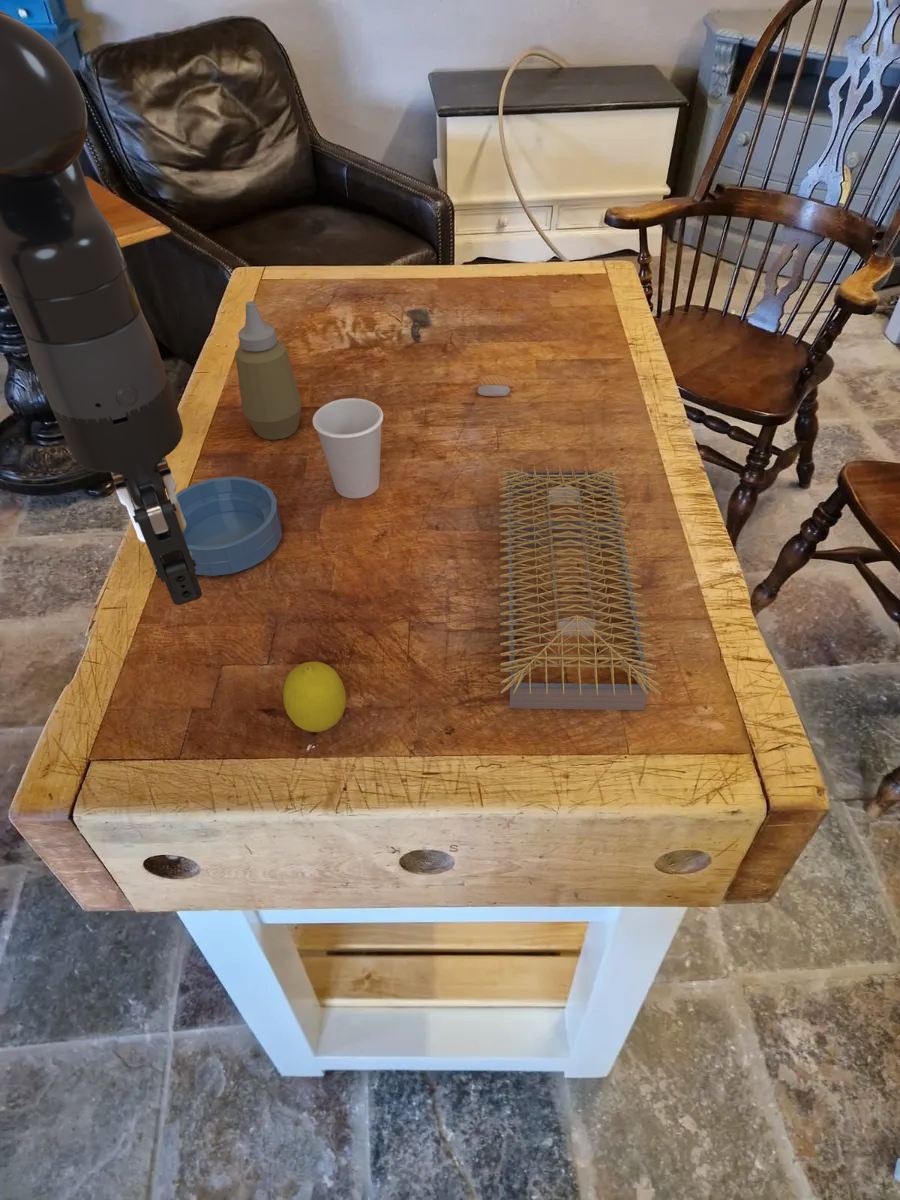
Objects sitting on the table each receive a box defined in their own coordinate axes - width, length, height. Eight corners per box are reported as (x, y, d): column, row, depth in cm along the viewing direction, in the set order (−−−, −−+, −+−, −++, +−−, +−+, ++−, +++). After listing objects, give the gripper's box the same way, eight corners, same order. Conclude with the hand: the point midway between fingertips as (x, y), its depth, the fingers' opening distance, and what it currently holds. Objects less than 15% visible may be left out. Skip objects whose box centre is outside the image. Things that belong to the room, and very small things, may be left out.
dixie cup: (320, 471, 103) (307, 403, 96) (383, 460, 105) (376, 392, 98) (329, 510, 98) (317, 441, 90) (396, 498, 99) (389, 429, 92)
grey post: (437, 311, 135) (408, 311, 136) (437, 304, 134) (408, 304, 135) (424, 342, 127) (394, 341, 127) (424, 335, 126) (393, 334, 127)
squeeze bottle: (318, 427, 111) (296, 301, 98) (271, 452, 107) (243, 324, 94) (282, 407, 115) (257, 283, 102) (236, 430, 111) (204, 305, 98)
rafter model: (499, 488, 100) (499, 447, 95) (615, 489, 99) (621, 447, 95) (500, 715, 75) (501, 673, 71) (655, 718, 74) (666, 675, 70)
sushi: (514, 398, 115) (515, 379, 112) (470, 398, 115) (469, 379, 113) (514, 389, 116) (514, 370, 114) (470, 389, 117) (470, 370, 115)
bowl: (236, 593, 88) (226, 563, 84) (145, 558, 92) (133, 528, 89) (305, 524, 96) (299, 494, 93) (219, 495, 100) (210, 465, 97)
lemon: (361, 711, 76) (351, 656, 70) (331, 756, 72) (318, 702, 67) (311, 693, 77) (298, 637, 72) (280, 736, 74) (263, 681, 68)
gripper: (35, 350, 56) (113, 529, 67) (60, 455, 46) (145, 641, 58) (144, 325, 58) (202, 502, 69) (188, 420, 49) (246, 606, 60)
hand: (176, 565), depth 64 cm, fingers open, 8 cm apart
